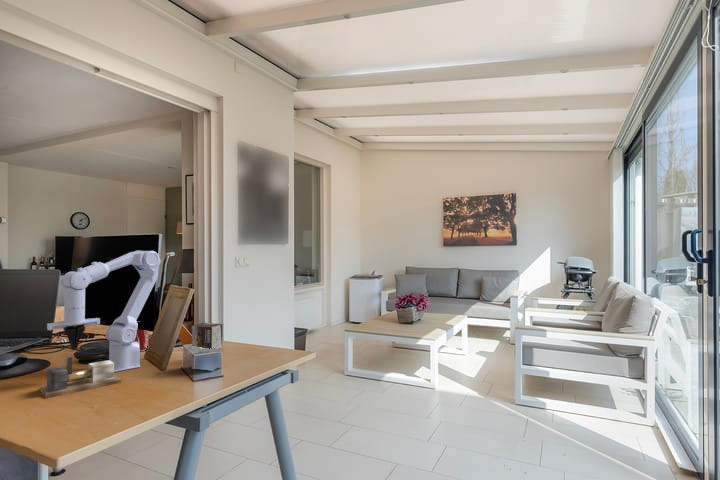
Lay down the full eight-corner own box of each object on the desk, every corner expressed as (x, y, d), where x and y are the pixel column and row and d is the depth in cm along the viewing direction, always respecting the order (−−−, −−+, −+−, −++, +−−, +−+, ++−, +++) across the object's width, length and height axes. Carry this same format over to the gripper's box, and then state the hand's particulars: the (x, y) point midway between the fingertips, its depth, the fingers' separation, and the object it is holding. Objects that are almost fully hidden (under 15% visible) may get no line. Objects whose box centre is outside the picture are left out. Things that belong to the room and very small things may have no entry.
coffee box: (222, 367, 155) (223, 323, 155) (211, 372, 149) (212, 326, 149) (202, 364, 158) (203, 322, 158) (190, 369, 152) (191, 325, 152)
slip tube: (89, 376, 136) (89, 353, 136) (91, 378, 134) (92, 355, 134) (55, 383, 129) (56, 359, 129) (57, 385, 127) (58, 360, 128)
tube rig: (111, 375, 144) (111, 356, 144) (121, 382, 137) (121, 362, 137) (39, 389, 129) (39, 368, 129) (46, 398, 122) (46, 375, 123)
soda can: (142, 352, 175) (143, 323, 175) (131, 351, 176) (132, 322, 176) (151, 349, 180) (151, 321, 180) (140, 348, 181) (141, 320, 182)
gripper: (95, 304, 147) (94, 342, 147) (45, 308, 136) (44, 350, 136) (102, 306, 142) (101, 346, 142) (50, 311, 132) (49, 354, 131)
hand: (74, 348), depth 139 cm, fingers closed
